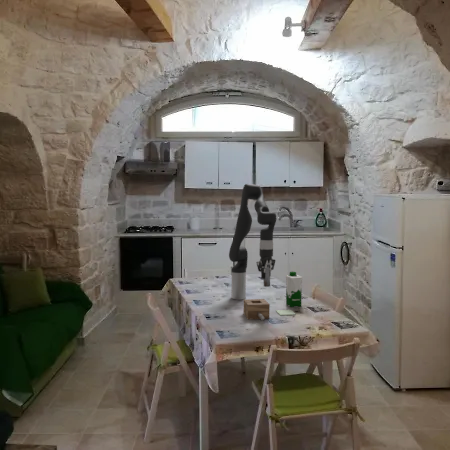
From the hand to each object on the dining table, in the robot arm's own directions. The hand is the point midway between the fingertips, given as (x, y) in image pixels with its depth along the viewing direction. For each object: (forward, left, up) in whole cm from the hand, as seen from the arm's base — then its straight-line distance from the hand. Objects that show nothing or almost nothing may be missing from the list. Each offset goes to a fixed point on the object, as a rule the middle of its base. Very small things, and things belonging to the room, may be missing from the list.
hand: (265, 278), depth 260 cm
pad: (-2, +13, -21) cm, 25 cm away
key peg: (+1, +1, -4) cm, 4 cm away
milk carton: (-18, +23, -21) cm, 36 cm away
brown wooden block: (+5, -5, -21) cm, 22 cm away
